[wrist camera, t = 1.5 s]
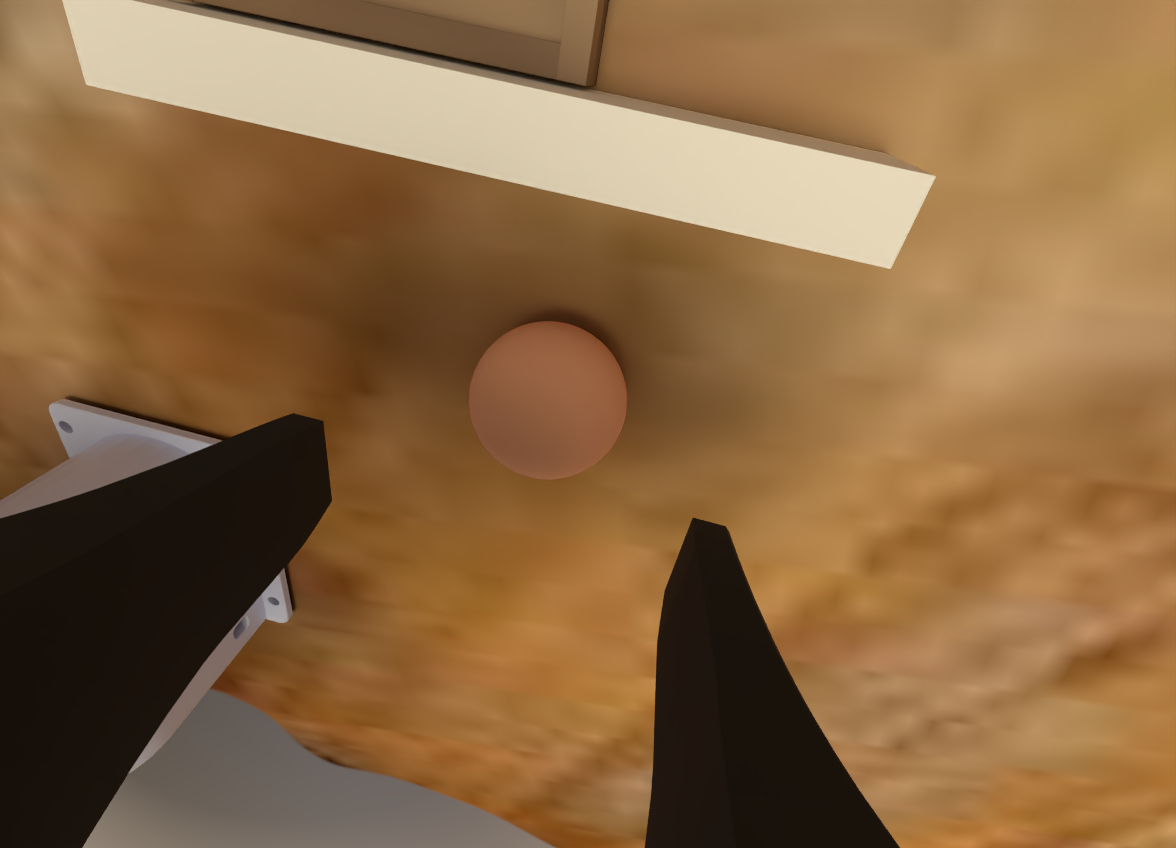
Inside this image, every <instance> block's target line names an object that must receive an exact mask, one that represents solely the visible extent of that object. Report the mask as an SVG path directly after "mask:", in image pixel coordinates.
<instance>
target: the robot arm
mask: <svg viewBox="0 0 1176 848" xmlns="http://www.w3.org/2000/svg"><path fill="white" fill-rule="evenodd" d="M49 413H50V415H51V417H52V420H53V422H54V424H55V426H56V429H57V431H58V433H59V436H60V438H61V440H62V443H63V445H64V447H65V449H66V452H67V454H68V456H69V459H68V460H66V461H64V462H63V463H61V464H59V465H58V466H56V467H55V468H53V469H51V470H50V471H48V472H46V473H45V474H43V475H41V476H40V477H38V478H36V479H35V480H33V481H32V482H30V483H28V484H27V485H25V486H23V487H22V488H20V489H18V490H17V491H15V492H13V493H12V494H10V495H8V496H7V497H5V498H4V499H2V500H0V848H82V847H83V845H84V844H85V842H86V840H87V838H88V837H89V835H90V834H91V832H92V831H93V829H94V827H95V826H96V824H97V822H98V821H99V819H100V818H101V816H102V815H103V813H104V811H105V810H106V808H107V807H108V805H109V803H110V802H111V800H112V799H113V797H114V795H115V794H116V792H117V791H118V789H119V787H120V786H121V784H122V783H123V781H124V780H125V778H126V776H127V775H128V774H129V773H130V772H132V771H133V770H135V769H136V768H137V767H139V766H140V765H141V764H143V763H144V762H145V761H147V760H148V759H149V758H150V757H151V756H152V755H154V754H155V753H156V752H157V751H158V750H159V749H160V748H161V747H162V745H164V744H165V743H166V741H167V740H168V739H169V738H170V737H171V736H172V734H173V733H174V732H175V730H176V729H177V728H178V727H179V726H180V724H181V723H182V722H183V721H184V720H185V718H186V717H187V716H188V714H189V713H190V712H191V711H192V710H193V708H194V707H195V706H196V705H197V703H198V702H199V701H200V700H201V698H202V697H203V696H204V695H205V693H206V692H207V691H208V690H209V689H210V687H211V686H212V685H213V684H214V682H215V681H216V680H217V679H218V677H219V676H220V675H221V674H222V672H223V671H224V670H225V669H226V667H227V666H228V665H229V664H230V663H231V661H232V660H233V659H234V658H235V656H236V655H237V654H238V653H239V651H240V650H241V649H242V648H243V646H244V645H245V644H246V643H247V641H248V640H249V639H250V638H251V637H252V635H253V634H254V633H255V632H256V630H257V629H258V628H259V627H260V625H261V624H262V623H263V622H264V620H265V619H268V620H271V621H275V622H279V623H284V622H287V621H288V620H289V619H290V617H291V616H292V613H293V612H292V607H291V602H290V596H289V591H288V586H287V581H286V575H285V570H284V568H285V566H286V565H287V564H288V563H289V562H290V560H291V559H292V558H293V557H294V556H295V554H296V553H297V552H298V551H299V550H300V548H301V547H302V546H303V545H304V543H305V542H306V540H307V539H308V537H309V536H310V534H311V533H312V531H313V530H314V528H315V527H316V525H317V524H318V522H319V521H320V519H321V517H322V516H323V514H324V513H325V511H326V509H327V508H328V506H329V505H330V503H331V501H332V497H331V488H330V479H329V470H328V460H327V451H326V442H325V433H324V424H323V421H321V420H317V419H313V418H309V417H305V416H302V415H298V414H294V413H293V414H290V415H287V416H284V417H281V418H278V419H276V420H273V421H270V422H268V423H265V424H263V425H260V426H258V427H255V428H253V429H250V430H248V431H245V432H243V433H240V434H238V435H235V436H233V437H231V438H228V439H226V440H223V441H222V440H218V439H215V438H211V437H207V436H203V435H199V434H196V433H192V432H188V431H184V430H180V429H177V428H173V427H169V426H165V425H161V424H158V423H154V422H150V421H146V420H142V419H139V418H135V417H131V416H127V415H123V414H120V413H116V412H112V411H108V410H104V409H101V408H97V407H93V406H89V405H85V404H82V403H78V402H74V401H70V400H66V399H60V400H58V401H56V402H54V403H52V404H50V405H49ZM645 848H900V847H899V846H898V844H897V843H896V842H895V840H894V839H893V837H892V836H891V835H890V833H889V832H888V830H887V829H886V827H885V826H884V825H883V823H882V822H881V820H880V819H879V818H878V816H877V815H876V813H875V812H874V810H873V809H872V808H871V806H870V805H869V803H868V802H867V801H866V799H865V798H864V796H863V795H862V794H861V792H860V791H859V789H858V788H857V786H856V784H855V783H854V781H853V780H852V778H851V777H850V775H849V774H848V772H847V770H846V769H845V767H844V766H843V764H842V763H841V761H840V759H839V758H838V756H837V755H836V753H835V752H834V750H833V748H832V747H831V745H830V743H829V742H828V740H827V738H826V737H825V735H824V733H823V732H822V730H821V728H820V727H819V725H818V723H817V722H816V720H815V718H814V717H813V715H812V713H811V711H810V710H809V708H808V706H807V704H806V702H805V701H804V699H803V697H802V695H801V693H800V691H799V690H798V688H797V686H796V684H795V682H794V680H793V678H792V676H791V674H790V672H789V670H788V669H787V667H786V665H785V663H784V661H783V659H782V657H781V655H780V653H779V651H778V649H777V647H776V645H775V642H774V640H773V638H772V636H771V634H770V632H769V630H768V627H767V625H766V623H765V621H764V618H763V616H762V614H761V612H760V610H759V607H758V605H757V603H756V601H755V598H754V596H753V593H752V591H751V589H750V586H749V584H748V581H747V579H746V576H745V574H744V571H743V569H742V566H741V563H740V561H739V558H738V555H737V553H736V550H735V547H734V544H733V542H732V539H731V536H730V533H729V531H728V529H727V528H726V526H722V525H719V524H715V523H711V522H707V521H703V520H699V519H696V518H693V519H692V521H691V524H690V526H689V529H688V532H687V534H686V537H685V539H684V542H683V545H682V547H681V550H680V552H679V555H678V558H677V560H676V563H675V565H674V568H673V571H672V573H671V576H670V578H669V581H668V584H667V586H666V589H665V593H664V599H663V606H662V612H661V619H660V626H659V634H658V641H657V663H656V693H655V725H654V757H653V776H652V790H651V800H650V809H649V817H648V825H647V834H646V842H645Z"/></svg>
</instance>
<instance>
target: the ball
mask: <svg viewBox="0 0 1176 848" xmlns="http://www.w3.org/2000/svg"><path fill="white" fill-rule="evenodd" d="M469 411H470V416H471V421H472V424H473V427H474V430H475V432H476V434H477V436H478V438H479V440H480V441H481V443H482V445H483V446H484V448H485V449H486V450H487V451H488V453H489V454H490V455H491V456H492V457H493V458H494V459H496V460H497V461H498V462H499V463H500V464H502V465H503V466H505V467H506V468H508V469H510V470H512V471H514V472H516V473H518V474H521V475H524V476H527V477H531V478H536V479H545V480H548V479H561V478H566V477H570V476H573V475H576V474H579V473H581V472H583V471H585V470H586V469H588V468H590V467H592V466H593V465H595V464H596V463H597V462H599V461H600V460H601V459H602V458H603V457H604V456H605V455H606V454H607V453H608V452H609V450H610V449H611V448H612V446H613V445H614V443H615V442H616V440H617V439H618V437H619V435H620V433H621V430H622V427H623V424H624V421H625V417H626V411H627V391H626V384H625V380H624V376H623V373H622V371H621V369H620V366H619V364H618V363H617V361H616V359H615V358H614V356H613V354H612V353H611V352H610V351H609V349H608V348H607V347H606V346H605V345H604V344H603V343H602V342H601V341H600V340H598V339H597V338H596V337H595V336H593V335H592V334H590V333H588V332H587V331H585V330H583V329H581V328H579V327H576V326H573V325H570V324H567V323H562V322H555V321H542V322H534V323H529V324H525V325H522V326H519V327H517V328H515V329H513V330H511V331H509V332H507V333H505V334H504V335H502V336H501V337H500V338H498V339H497V340H496V341H495V342H494V343H493V344H492V345H491V346H490V347H489V348H488V349H487V350H486V351H485V353H484V354H483V356H482V357H481V359H480V360H479V362H478V364H477V366H476V368H475V370H474V374H473V377H472V380H471V383H470V390H469Z"/></svg>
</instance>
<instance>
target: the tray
mask: <svg viewBox="0 0 1176 848" xmlns="http://www.w3.org/2000/svg"><path fill="white" fill-rule="evenodd" d="M192 1H197V2H201V3H206V4H211V5H215V6H220V7H224V8H229V9H234V10H238V11H243V12H247V13H252V14H257V15H261V16H266V17H270V18H275V19H280V20H284V21H289V22H294V23H298V24H303V25H307V26H312V27H317V28H321V29H326V30H330V31H335V32H340V33H344V34H349V35H353V36H358V37H363V38H367V39H372V40H376V41H381V42H386V43H390V44H395V45H399V46H404V47H409V48H413V49H418V50H422V51H427V52H432V53H436V54H441V55H445V56H450V57H455V58H459V59H464V60H468V61H473V62H478V63H482V64H487V65H491V66H496V67H501V68H505V69H510V70H514V71H519V72H524V73H528V74H533V75H537V76H542V77H547V78H551V79H556V80H560V81H565V82H570V83H574V84H579V85H583V86H589V85H596V80H597V73H598V67H599V61H600V54H601V48H602V42H603V35H604V29H605V23H606V16H607V10H608V4H609V0H192Z"/></svg>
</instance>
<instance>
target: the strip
mask: <svg viewBox="0 0 1176 848" xmlns="http://www.w3.org/2000/svg"><path fill="white" fill-rule="evenodd" d="M62 1H63V4H64V8H65V11H66V15H67V18H68V22H69V26H70V29H71V33H72V36H73V40H74V43H75V47H76V50H77V54H78V58H79V61H80V65H81V68H82V72H83V75H84V79H85V83H86V85H89V86H93V87H98V88H102V89H107V90H111V91H115V92H120V93H124V94H128V95H133V96H137V97H142V98H146V99H150V100H155V101H159V102H163V103H168V104H172V105H176V106H181V107H185V108H190V109H194V110H198V111H203V112H207V113H211V114H216V115H220V116H225V117H229V118H233V119H238V120H242V121H246V122H251V123H255V124H260V125H264V126H268V127H273V128H277V129H281V130H286V131H290V132H294V133H299V134H303V135H308V136H312V137H316V138H321V139H325V140H329V141H334V142H338V143H343V144H347V145H351V146H356V147H360V148H364V149H369V150H373V151H377V152H382V153H386V154H391V155H395V156H399V157H404V158H408V159H412V160H417V161H421V162H426V163H430V164H434V165H439V166H443V167H447V168H452V169H456V170H461V171H465V172H469V173H474V174H478V175H482V176H487V177H491V178H495V179H500V180H504V181H509V182H513V183H517V184H522V185H526V186H530V187H535V188H539V189H544V190H548V191H552V192H557V193H561V194H565V195H570V196H574V197H578V198H583V199H587V200H592V201H596V202H600V203H605V204H609V205H613V206H618V207H622V208H627V209H631V210H635V211H640V212H644V213H648V214H653V215H657V216H661V217H666V218H670V219H675V220H679V221H683V222H688V223H692V224H696V225H701V226H705V227H710V228H714V229H718V230H723V231H727V232H731V233H736V234H740V235H745V236H749V237H753V238H758V239H762V240H766V241H771V242H775V243H779V244H784V245H788V246H793V247H797V248H801V249H806V250H810V251H814V252H819V253H823V254H828V255H832V256H836V257H841V258H845V259H849V260H854V261H858V262H862V263H867V264H871V265H876V266H880V267H884V268H889V269H891V267H892V265H893V263H894V261H895V259H896V257H897V255H898V253H899V251H900V249H901V247H902V245H903V243H904V241H905V238H906V236H907V234H908V232H909V230H910V228H911V226H912V224H913V222H914V220H915V218H916V216H917V214H918V212H919V210H920V208H921V206H922V204H923V202H924V200H925V198H926V195H927V193H928V191H929V189H930V187H931V185H932V183H933V181H934V179H935V177H936V176H935V175H932V174H930V173H928V172H926V171H924V170H922V169H920V168H918V167H915V166H913V165H911V164H909V163H907V162H905V161H903V160H900V159H898V158H896V157H894V156H892V155H890V154H887V153H883V152H878V151H873V150H869V149H864V148H860V147H855V146H850V145H846V144H841V143H837V142H832V141H827V140H823V139H818V138H814V137H809V136H804V135H800V134H795V133H791V132H786V131H781V130H777V129H772V128H768V127H763V126H758V125H754V124H749V123H745V122H740V121H735V120H731V119H726V118H722V117H717V116H712V115H708V114H703V113H699V112H694V111H690V110H685V109H680V108H676V107H671V106H667V105H662V104H657V103H653V102H648V101H644V100H639V99H634V98H630V97H625V96H621V95H616V94H611V93H607V92H602V91H598V90H593V89H588V88H584V87H579V86H575V85H570V84H565V83H561V82H556V81H552V80H547V79H542V78H538V77H533V76H529V75H524V74H519V73H515V72H510V71H506V70H501V69H496V68H492V67H487V66H483V65H478V64H473V63H469V62H464V61H460V60H455V59H450V58H446V57H441V56H437V55H432V54H427V53H423V52H418V51H414V50H409V49H404V48H400V47H395V46H391V45H386V44H382V43H377V42H372V41H368V40H363V39H359V38H354V37H349V36H345V35H340V34H336V33H331V32H326V31H322V30H317V29H313V28H308V27H303V26H299V25H294V24H290V23H285V22H280V21H276V20H271V19H267V18H262V17H257V16H253V15H248V14H244V13H239V12H234V11H230V10H225V9H221V8H216V7H211V6H207V5H202V4H198V3H193V2H188V1H183V0H62Z"/></svg>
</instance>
